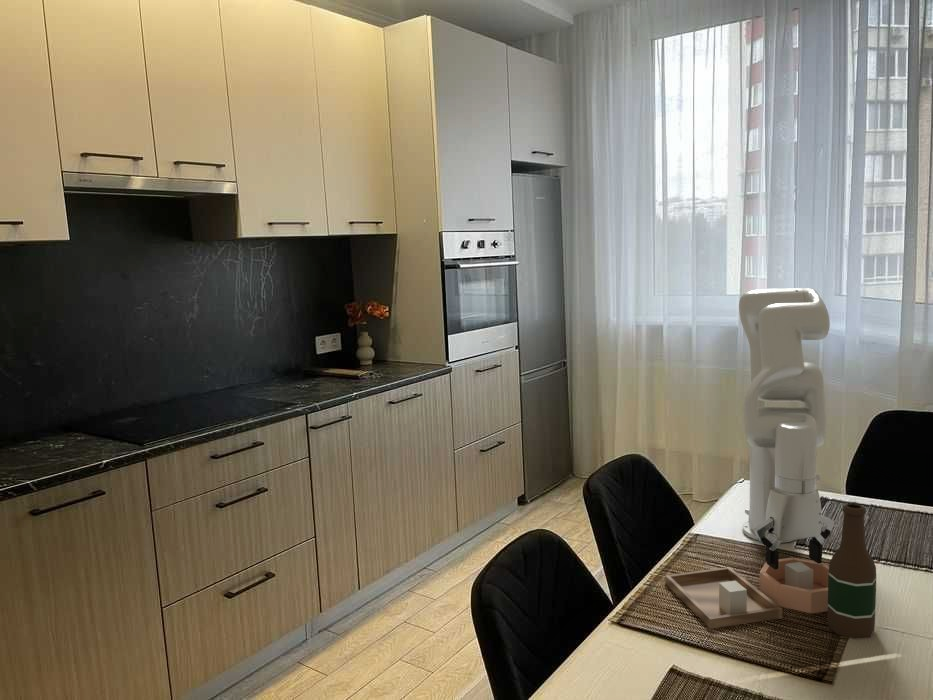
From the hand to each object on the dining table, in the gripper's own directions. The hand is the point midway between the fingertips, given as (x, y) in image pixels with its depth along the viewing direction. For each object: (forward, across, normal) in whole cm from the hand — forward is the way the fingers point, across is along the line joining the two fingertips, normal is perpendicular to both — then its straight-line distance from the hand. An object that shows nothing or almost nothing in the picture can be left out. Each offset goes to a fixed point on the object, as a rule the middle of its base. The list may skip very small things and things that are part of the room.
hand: (793, 563), depth 147 cm
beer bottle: (+6, 0, +16) cm, 17 cm away
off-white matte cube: (+5, 0, +1) cm, 5 cm away
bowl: (+6, 0, +2) cm, 6 cm away
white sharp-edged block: (+5, +16, +5) cm, 18 cm away
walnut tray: (+6, +16, 0) cm, 18 cm away
